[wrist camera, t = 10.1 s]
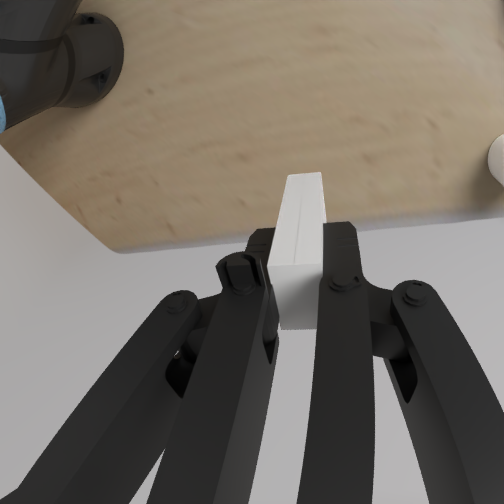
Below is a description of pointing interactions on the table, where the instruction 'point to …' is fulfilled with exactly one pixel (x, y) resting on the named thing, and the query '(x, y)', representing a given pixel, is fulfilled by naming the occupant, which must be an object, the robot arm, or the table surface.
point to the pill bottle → (497, 159)
